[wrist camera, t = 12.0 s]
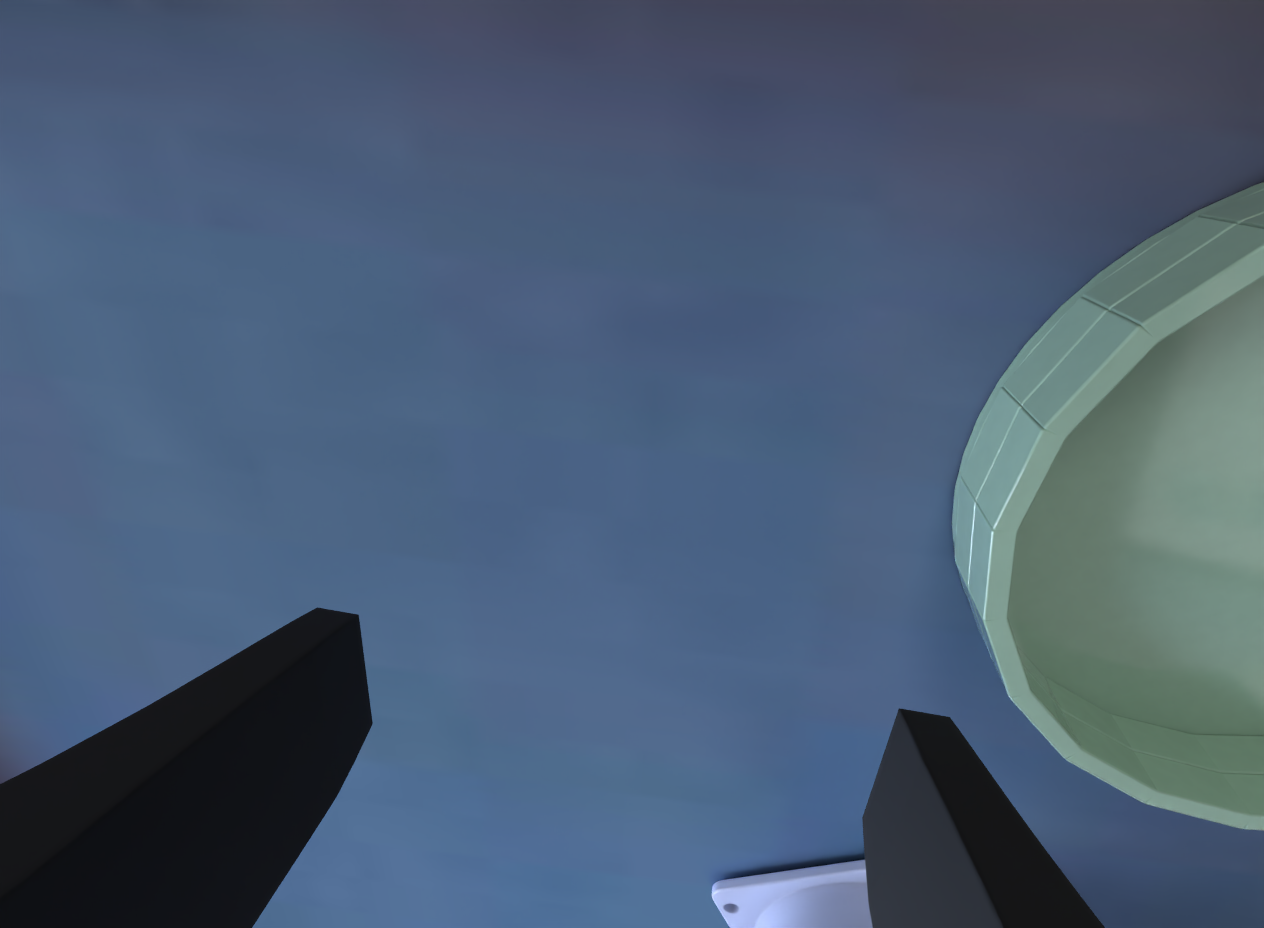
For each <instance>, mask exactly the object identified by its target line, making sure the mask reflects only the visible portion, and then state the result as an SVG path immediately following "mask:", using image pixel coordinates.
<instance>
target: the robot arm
mask: <svg viewBox="0 0 1264 928" xmlns="http://www.w3.org/2000/svg"><path fill="white" fill-rule="evenodd" d="M371 726H372V716H371V708H370V700H369V693H368V685H367V677H366V669H365V661H364V653H363V646H362V638H361V630H360V622H359V615H357V614H351V613H345V612H340V611H334V610H328V609H322V608H316V609H314V610H312V611H310V612H308V613H307V614H305V615H303V616H301V617H299V618H297V619H296V620H294V621H292V622H290V623H289V624H287V625H285V626H283V627H282V628H280V629H278V630H277V631H275V632H273V633H271V634H270V635H268V636H266V637H265V638H263V639H261V640H260V641H258V642H256V643H255V644H253V645H251V646H249V647H248V648H246V649H244V650H243V651H241V652H239V653H238V654H236V655H234V656H233V657H231V658H229V659H228V660H226V661H224V662H223V663H221V664H219V665H217V666H216V667H214V668H212V669H211V670H209V671H207V672H205V673H204V674H202V675H200V676H199V677H197V678H195V679H193V680H192V681H190V682H188V683H187V684H185V685H183V686H181V687H180V688H178V689H176V690H175V691H173V692H171V693H169V694H168V695H166V696H164V697H162V698H161V699H159V700H157V701H156V702H154V703H152V704H150V705H149V706H147V707H145V708H143V709H141V710H140V711H138V712H136V713H134V714H132V715H130V716H129V717H127V718H125V719H123V720H121V721H119V722H117V723H116V724H114V725H112V726H110V727H108V728H106V729H105V730H103V731H101V732H99V733H97V734H95V735H93V736H92V737H90V738H88V739H86V740H84V741H82V742H80V743H79V744H77V745H75V746H73V747H71V748H69V749H68V750H66V751H64V752H62V753H60V754H58V755H56V756H55V757H53V758H51V759H49V760H47V761H45V762H43V763H41V764H40V765H38V766H36V767H34V768H32V769H30V770H28V771H26V772H24V773H22V774H20V775H18V776H16V777H14V778H12V779H10V780H8V781H6V782H4V783H2V784H0V928H252V927H253V925H254V924H255V922H256V921H257V919H258V918H259V916H260V915H261V913H262V911H263V910H264V908H265V907H266V905H267V904H268V902H269V901H270V899H271V898H272V896H273V895H274V893H275V892H276V890H277V888H278V887H279V885H280V884H281V882H282V881H283V879H284V878H285V876H286V875H287V873H288V872H289V870H290V869H291V867H292V865H293V864H294V862H295V861H296V859H297V858H298V856H299V855H300V853H301V852H302V850H303V848H304V847H305V845H306V844H307V842H308V841H309V839H310V838H311V836H312V834H313V833H314V831H315V830H316V828H317V827H318V825H319V824H320V822H321V820H322V819H323V817H324V816H325V814H326V813H327V811H328V809H329V808H330V806H331V805H332V803H333V801H334V800H335V798H336V797H337V795H338V793H339V791H340V789H341V787H342V785H343V783H344V781H345V779H346V777H347V775H348V773H349V772H350V770H351V768H352V766H353V764H354V762H355V760H356V758H357V755H358V753H359V751H360V749H361V747H362V745H363V743H364V741H365V739H366V737H367V734H368V732H369V730H370V728H371ZM862 819H863V835H864V851H865V860H858V861H851V862H844V863H837V864H830V865H823V866H816V867H809V868H802V869H795V870H788V871H781V872H774V873H767V874H761V875H754V876H747V877H740V878H733V879H726V880H720V881H717V882H716V883H715V884H713V888H712V898H713V900H714V902H715V904H716V905H717V907H718V909H719V910H720V912H721V914H722V915H723V917H724V918H725V920H726V922H727V923H728V925H729V927H730V928H1105V927H1104V926H1103V925H1102V923H1101V922H1100V921H1099V919H1098V918H1097V917H1096V916H1095V914H1094V913H1093V912H1092V910H1091V909H1090V908H1089V907H1088V905H1087V904H1086V903H1085V901H1084V900H1083V899H1082V897H1081V896H1080V895H1079V893H1078V892H1077V891H1076V889H1075V888H1074V887H1073V885H1072V884H1071V883H1070V882H1069V880H1068V879H1067V878H1066V876H1065V875H1064V874H1063V872H1062V871H1061V870H1060V868H1059V867H1058V866H1057V864H1056V863H1055V862H1054V861H1053V859H1052V858H1051V857H1050V855H1049V854H1048V853H1047V851H1046V850H1045V849H1044V847H1043V846H1042V845H1041V843H1040V842H1039V840H1038V839H1037V838H1036V836H1035V835H1034V834H1033V832H1032V831H1031V830H1030V828H1029V827H1028V825H1027V824H1026V823H1025V821H1024V820H1023V819H1022V817H1021V816H1020V814H1019V813H1018V812H1017V810H1016V809H1015V807H1014V806H1013V805H1012V803H1011V802H1010V801H1009V799H1008V798H1007V796H1006V795H1005V794H1004V792H1003V791H1002V789H1001V788H1000V787H999V785H998V784H997V782H996V781H995V780H994V778H993V777H992V775H991V774H990V773H989V771H988V770H987V768H986V767H985V766H984V764H983V763H982V761H981V760H980V759H979V757H978V756H977V754H976V753H975V751H974V750H973V749H972V747H971V746H970V744H969V743H968V742H967V740H966V739H965V738H964V736H963V735H962V733H961V732H960V731H959V729H958V728H957V727H956V725H955V724H954V722H953V721H952V720H951V718H950V717H946V716H940V715H934V714H928V713H923V712H917V711H911V710H905V709H899V710H898V713H897V716H896V719H895V722H894V725H893V728H892V731H891V734H890V737H889V740H888V743H887V746H886V749H885V752H884V755H883V758H882V761H881V764H880V767H879V770H878V773H877V776H876V779H875V782H874V785H873V788H872V791H871V794H870V797H869V800H868V803H867V806H866V809H865V812H864V815H863V818H862Z"/></svg>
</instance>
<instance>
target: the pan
mask: <svg viewBox="0 0 1264 928" xmlns="http://www.w3.org/2000/svg"><path fill="white" fill-rule="evenodd" d="M952 531H953V544H954V556H955V560H956V561H955V563H956V566H957V569H958V572H959V576H960V579H961V583H962V586H963V589H964V591H965V593H966V595H967V598H968V600H969V603H970V606H971V609H972V612H973V615H974V618H975V621H976V624H977V627H978V629H979V632H980V634H981V636H982V638H983V641H984V643H985V645H986V647H987V650H988V652H989V654H990V656H991V658H992V660H993V663H994V665H995V667H996V670H997V672H998V674H999V676H1000V679H1001V681H1002V683H1003V685H1004V687H1005V690H1006V692H1007V694H1008V696H1009V697H1010V699H1011V700H1012V702H1013V703H1014V704H1015V705H1016V706H1017V707H1018V708H1019V709H1020V710H1021V712H1022V713H1023V714H1024V715H1025V716H1026V717H1027V718H1028V719H1029V720H1030V722H1031V723H1032V724H1033V725H1034V726H1035V727H1036V728H1037V729H1038V730H1039V732H1040V733H1041V734H1042V735H1043V736H1044V737H1045V738H1046V739H1047V740H1048V742H1049V743H1050V744H1051V745H1052V746H1053V747H1054V748H1055V749H1056V750H1057V752H1058V753H1059V754H1060V755H1061V756H1062V757H1063V758H1065V759H1066V760H1067V761H1068V762H1070V763H1072V764H1074V765H1076V766H1077V767H1079V768H1081V769H1083V770H1085V771H1086V772H1088V773H1090V774H1092V775H1093V776H1095V777H1097V778H1099V779H1101V780H1102V781H1104V782H1106V783H1108V784H1110V785H1111V786H1113V787H1115V788H1117V789H1119V790H1120V791H1122V792H1124V793H1126V794H1128V795H1129V796H1131V797H1133V798H1135V799H1137V800H1138V801H1140V802H1142V803H1145V804H1147V805H1151V806H1155V807H1158V808H1162V809H1166V810H1170V811H1174V812H1178V813H1182V814H1186V815H1189V816H1193V817H1197V818H1201V819H1205V820H1209V821H1213V822H1217V823H1220V824H1224V825H1228V826H1232V827H1236V828H1240V829H1247V830H1264V182H1263V183H1260V184H1257V185H1254V186H1252V187H1249V188H1247V189H1245V190H1243V191H1240V192H1238V193H1236V194H1234V195H1231V196H1229V197H1227V198H1225V199H1222V200H1220V201H1218V202H1216V203H1213V204H1211V205H1209V206H1207V207H1204V208H1202V209H1200V210H1198V211H1196V212H1194V213H1192V214H1191V215H1189V216H1187V217H1185V218H1184V219H1182V220H1180V221H1178V222H1176V223H1175V224H1173V225H1171V226H1169V227H1168V228H1166V229H1164V230H1162V231H1161V232H1159V233H1157V234H1155V235H1154V236H1152V237H1150V238H1148V239H1147V240H1145V241H1143V242H1142V243H1141V244H1139V245H1138V246H1136V247H1135V248H1134V249H1132V250H1131V251H1129V252H1128V253H1127V254H1125V255H1124V256H1122V257H1121V258H1119V259H1118V260H1117V261H1115V262H1114V263H1112V264H1111V265H1110V266H1108V267H1107V268H1105V269H1104V270H1102V271H1101V272H1100V273H1098V274H1097V275H1096V276H1095V277H1094V278H1093V279H1092V280H1090V281H1089V282H1088V283H1087V284H1086V285H1085V286H1083V287H1082V288H1081V289H1080V290H1079V291H1078V292H1077V293H1075V294H1074V295H1073V296H1072V297H1071V298H1070V299H1069V300H1067V301H1066V302H1065V303H1064V304H1063V305H1062V306H1061V307H1059V308H1058V310H1057V311H1056V312H1055V313H1054V314H1053V315H1052V316H1051V317H1050V318H1049V319H1048V320H1047V321H1046V322H1045V324H1044V325H1043V326H1042V327H1041V328H1040V329H1039V330H1038V331H1037V332H1036V333H1035V334H1034V335H1033V337H1032V338H1031V339H1030V340H1029V341H1028V342H1027V343H1026V344H1025V345H1024V347H1023V348H1022V350H1021V351H1020V352H1019V354H1018V355H1017V356H1016V358H1015V359H1014V360H1013V362H1012V363H1011V365H1010V366H1009V367H1008V369H1007V370H1006V371H1005V373H1004V374H1003V375H1002V377H1001V378H1000V380H999V381H998V383H997V384H996V386H995V388H994V390H993V392H992V393H991V395H990V397H989V399H988V401H987V402H986V404H985V406H984V408H983V409H982V411H981V413H980V415H979V417H978V419H977V421H976V424H975V426H974V429H973V431H972V434H971V436H970V439H969V441H968V444H967V446H966V449H965V451H964V454H963V457H962V461H961V465H960V470H959V474H958V478H957V482H956V486H955V492H954V504H953V516H952Z"/></svg>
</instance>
